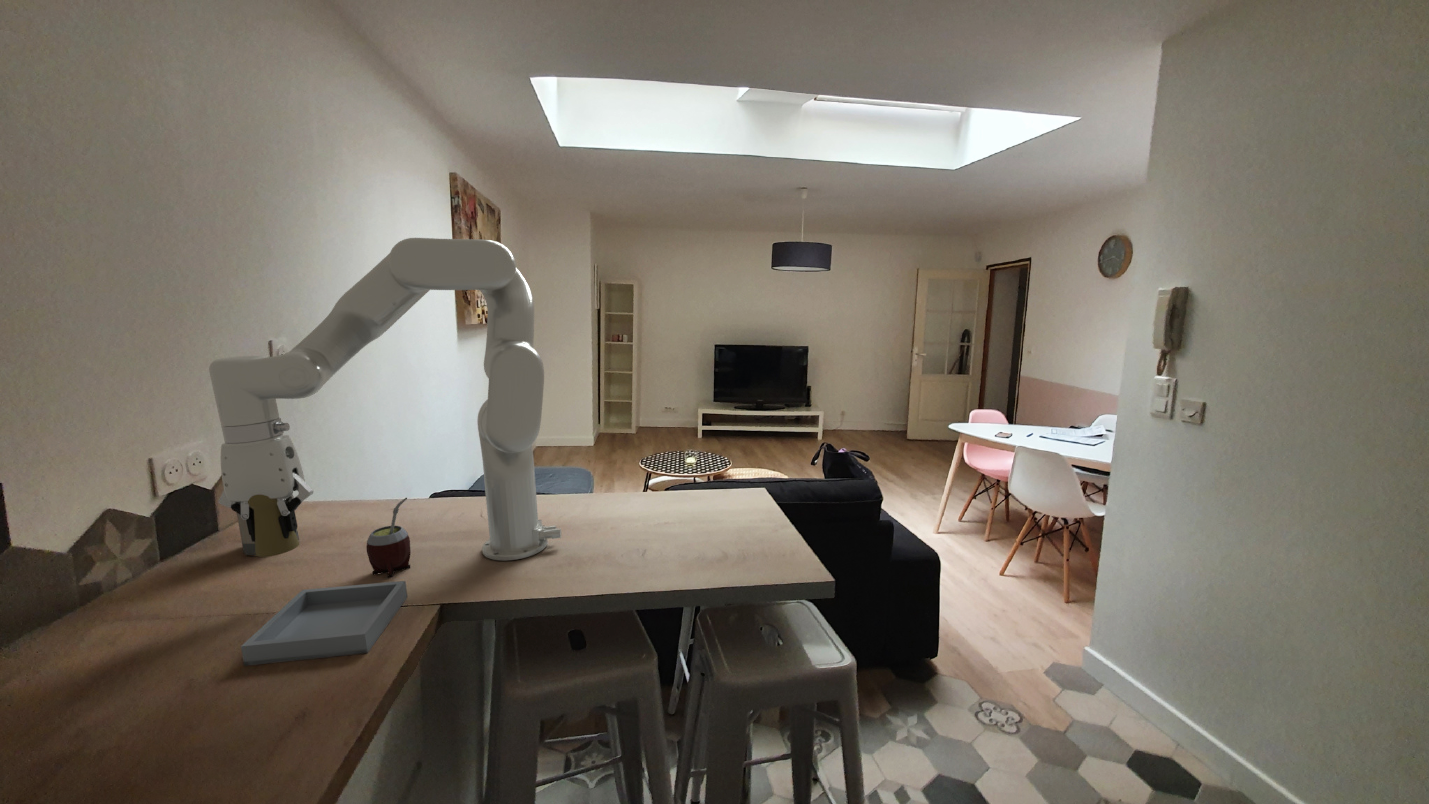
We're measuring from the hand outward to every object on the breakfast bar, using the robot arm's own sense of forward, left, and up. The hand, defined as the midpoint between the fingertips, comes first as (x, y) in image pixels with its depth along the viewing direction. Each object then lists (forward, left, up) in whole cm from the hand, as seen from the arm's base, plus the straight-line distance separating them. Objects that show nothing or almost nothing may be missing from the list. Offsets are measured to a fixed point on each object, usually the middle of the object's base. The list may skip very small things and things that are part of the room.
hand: (274, 535), depth 97 cm
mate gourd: (-15, -7, -11) cm, 20 cm away
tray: (-13, +12, -11) cm, 21 cm away
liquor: (+15, -24, -11) cm, 30 cm away
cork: (0, 0, -3) cm, 3 cm away
